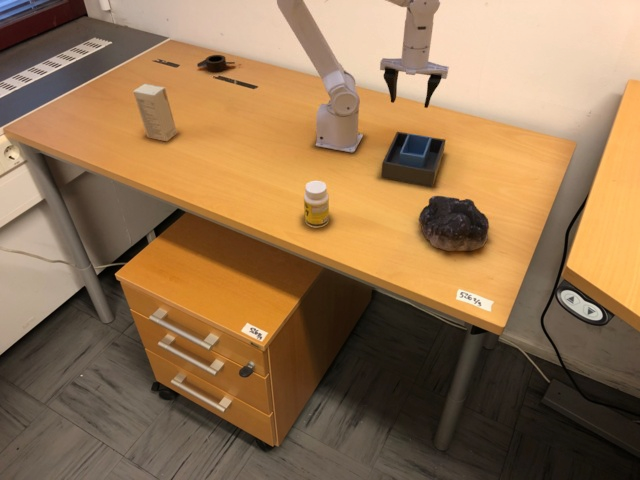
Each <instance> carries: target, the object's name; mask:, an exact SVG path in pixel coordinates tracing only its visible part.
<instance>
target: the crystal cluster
mask: <svg viewBox="0 0 640 480" xmlns="http://www.w3.org/2000/svg"><path fill="white" fill-rule="evenodd" d="M418 223H419V224H420V226H421V227H422V232H423V235H424V237H425V239H426V240H428V241H429V242H430V244H431V246H433V248H437V249H440V250H444V251H447V252H454V251H457V252H458V251H459V252H465V251H474V250H478V249H480V248H482V247H484V245H486V242H488V237H489V233H488V231H489V228H490V226H489V225H490V223H489V218H488V217H487V216H486V215H485V213H483V212H481V210H479V208H477V206H476V205H475V203H474V201H473V200H471V199H469V198H465V199H460V198H457V197H452V196H451V197H450V196H444V195H433V196H431V197H430V198H429V199H428V205H425V207H423V208H422V210H421V212H420V214H419V218H418Z"/></svg>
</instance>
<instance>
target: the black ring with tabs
mask: <svg viewBox="0 0 640 480" xmlns="http://www.w3.org/2000/svg"><path fill="white" fill-rule="evenodd" d="M226 60H227V59H226V56H225V55H221V54H212V55H209V56H207V57H205V59H204V60H201V61H200V62H198V63H197V68H203V67H206V71H208V72H209V73H213V74H216V73H218V74H219V73H222V72H224V71H226V70H227V68H228V66H227V64H228V65H235V64H236V61H226Z"/></svg>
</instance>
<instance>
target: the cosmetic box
mask: <svg viewBox="0 0 640 480" xmlns="http://www.w3.org/2000/svg"><path fill="white" fill-rule="evenodd" d="M132 92H133V96H134V99H135V102H136V105H137V108H138V111H139V115H140V118H141V121H142V124H143V128H144V131H145V134H146V137H147V138H150V139H154V140H158V141H162V142H168V141H170V140H172V138H173V137H175V136H176V135H177V134H178V132H177V128H176V124H175V121H174V117H173V113H172V109H171V105H170V101H169V98H168V93H167V89H166V87H165V86H160V85H156V84H150V83H143V84H142V85H140V86H138V87H137V88H135V89H134V90H133V91H132Z"/></svg>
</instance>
